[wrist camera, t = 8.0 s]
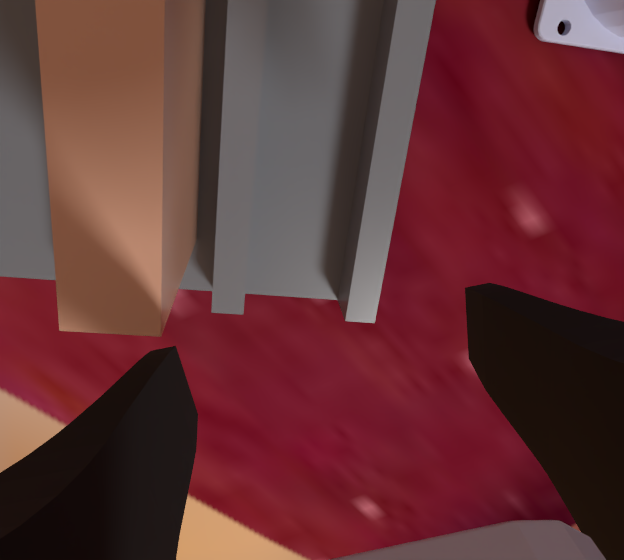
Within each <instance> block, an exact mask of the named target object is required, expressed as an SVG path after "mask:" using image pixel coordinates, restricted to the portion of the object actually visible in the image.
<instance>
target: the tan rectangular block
mask: <svg viewBox="0 0 624 560" xmlns="http://www.w3.org/2000/svg"><path fill="white" fill-rule="evenodd" d="M35 6H36V20H37V33H38V47H39V60H40V74H41V87H42V101H43V114H44V128H45V141H46V155H47V169H48V182H49V196H50V209H51V223H52V236H53V250H54V263H55V277H56V290H57V304H58V317H59V331H73V332H91V333H108V334H125V335H143V336H160V337H161V335H162V332H163V330H164V327H165V324H166V321H167V319H168V316H169V313H170V311H171V308H172V305H173V302H174V300H175V297H176V294H177V292H178V289H179V286H180V283H181V281H182V278H183V275H184V273H185V270H186V267H187V264H188V262H189V259H190V256H191V254H192V251H193V248H194V245H195V243H196V240H197V221H198V195H199V169H200V143H201V117H202V91H203V65H204V39H205V13H206V0H35Z"/></svg>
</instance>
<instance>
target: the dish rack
mask: <svg viewBox="0 0 624 560" xmlns="http://www.w3.org/2000/svg"><path fill="white" fill-rule="evenodd" d="M435 2H436V0H206V13H205V39H204V65H203V91H202V117H201V143H200V169H199V195H198V221H197V240H196V243H195V245H194V248H193V251H192V254H191V256H190V259H189V262H188V264H187V267H186V270H185V273H184V275H183V278H182V281H181V283H180V286H179V289H189V290H204V291H213V293H212V313H227V314H243V312H244V299H245V293H246V294H260V295H275V296H289V297H303V298H317V299H331V300H338V302H339V305H340V308H341V311H342V313H343V316H344V319H345V321H351V322H367V323H375V319H376V314H377V308H378V303H379V298H380V292H381V287H382V282H383V277H384V271H385V266H386V261H387V255H388V250H389V245H390V240H391V234H392V229H393V224H394V218H395V213H396V208H397V202H398V197H399V192H400V187H401V181H402V176H403V171H404V165H405V160H406V155H407V150H408V144H409V139H410V134H411V128H412V123H413V118H414V113H415V107H416V102H417V97H418V91H419V86H420V81H421V76H422V70H423V65H424V60H425V54H426V49H427V44H428V39H429V33H430V28H431V23H432V17H433V12H434V7H435ZM0 276H5V277H19V278H33V279H48V280H56V277H55V263H54V250H53V236H52V223H51V209H50V196H49V182H48V169H47V155H46V141H45V128H44V114H43V101H42V87H41V74H40V60H39V47H38V33H37V20H36V6H35V0H0Z"/></svg>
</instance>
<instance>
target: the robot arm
mask: <svg viewBox="0 0 624 560" xmlns="http://www.w3.org/2000/svg"><path fill="white" fill-rule="evenodd" d="M561 21H562V22H564V24H565V30H564V32H563V34H561V35H560V34H559V33H558V31H557V27H558V25H559V23H560V22H561ZM534 34H535V36H536V37H537V39H538V40H541V41H544V42H551V43H557V44H564V45H570V46H577V47H583V48H590V49H596V50H603V51H609V52H616V53H622V54H624V0H540V3H539V7H538V11H537V15H536V19H535V23H534ZM465 294H466V313H467V332H468V351H469V360H470V361H471V363H472V365H473V367H474V369H475V371H476V373H477V375H478V377H479V379H480V380H481V382H482V384H483V386H484V388H485V389H486V391H487V392H488V394H489V395H490V397H491V398H492V399H493V401H494V402H495V403H496V405H497V406H498V408H499V409H500V410H501V412H502V413H503V414H504V416H505V417H506V418H507V420H508V421H509V422H510V424H511V425H512V426H513V428H514V429H515V430H516V432H517V433H518V434H519V436H520V437H521V438H522V440H523V441H524V442H525V444H526V445H527V446H528V448H529V449H530V450H531V452H532V453H533V454H534V456H535V457H536V458H537V460H538V461H539V463H540V464H541V466H542V467H543V469H544V470H545V472H546V473H547V474H548V476H549V478H550V479H551V481H552V483H553V484H554V486H555V488H556V489H557V491H558V493H559V494H560V496H561V498H562V500H563V501H564V503H565V505H566V506H567V508H568V510H569V511H570V513H571V515H572V517H573V518H574V520H575V522H576V524H577V525H578V527H579V529H580V531H581V532H579V531H578V530H576V529H574V528H572V527H570V526H568V525H567V524H565V523H563V522H561V521H556V520H518V521H508V522H503V523H498V524H494V525H489V526H484V527H479V528H475V529H470V530H465V531H461V532H456V533H451V534H447V535H442V536H437V537H433V538H428V539H423V540H419V541H414V542H409V543H405V544H400V545H395V546H391V547H386V548H381V549H377V550H372V551H367V552H363V553H358V554H353V555H349V556H344V557H339V558H335V559H330V560H624V322H622V321H617V320H613V319H609V318H605V317H601V316H597V315H594V314H590V313H586V312H583V311H579V310H576V309H572V308H569V307H566V306H563V305H559V304H556V303H553V302H550V301H547V300H544V299H541V298H538V297H535V296H532V295H529V294H526V293H523V292H520V291H517V290H514V289H511V288H508V287H504V286H501V285H497V284H492V283H487V284H482V285H477V286H472V287H467V288H465ZM197 421H198V413H197V410H196V407H195V404H194V401H193V398H192V395H191V392H190V389H189V385H188V382H187V379H186V376H185V373H184V370H183V367H182V364H181V361H180V358H179V355H178V352H177V349H176V346H173V347H168V348H163V349H158V350H153V351H150V352H149V353H148V354H146V355H145V356H144V357H143V358H141V359H140V360H139V361H138V362H137V363H136V364H135V365H134V366H133V367H132V368H131V369H130V370H129V371H127V372H126V373H125V374H124V375H123V376H122V377H121V378H120V379H119V380H118V381H117V382H116V383H115V384H114V385H113V386H112V387H111V388H109V389H108V390H107V391H106V392H105V393H104V394H103V395H102V396H101V397H100V398H99V399H98V400H96V401H95V402H94V403H93V404H92V405H91V406H90V407H88V408H87V409H86V410H85V411H84V412H83V413H81V414H80V415H79V416H78V417H77V418H76V419H75V420H73V421H72V422H71V423H70V424H69V425H67V426H66V427H65V428H64V429H62V430H61V431H60V432H59V433H57V434H56V435H55V436H53V437H52V438H51V439H50V440H48V441H47V442H46V443H44V444H43V445H41V446H40V447H38V448H37V449H36V450H34V451H33V452H32V453H30V454H29V455H27V456H26V457H24V458H23V459H22V460H20V461H18V462H17V463H15V464H13V465H12V466H10V467H9V468H7V469H6V470H4V471H3V472H1V473H0V560H176V554H177V548H178V541H179V535H180V529H181V525H182V519H183V515H184V509H185V504H186V499H187V494H188V489H189V484H190V479H191V474H192V469H193V464H194V458H195V453H196V442H197Z"/></svg>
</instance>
